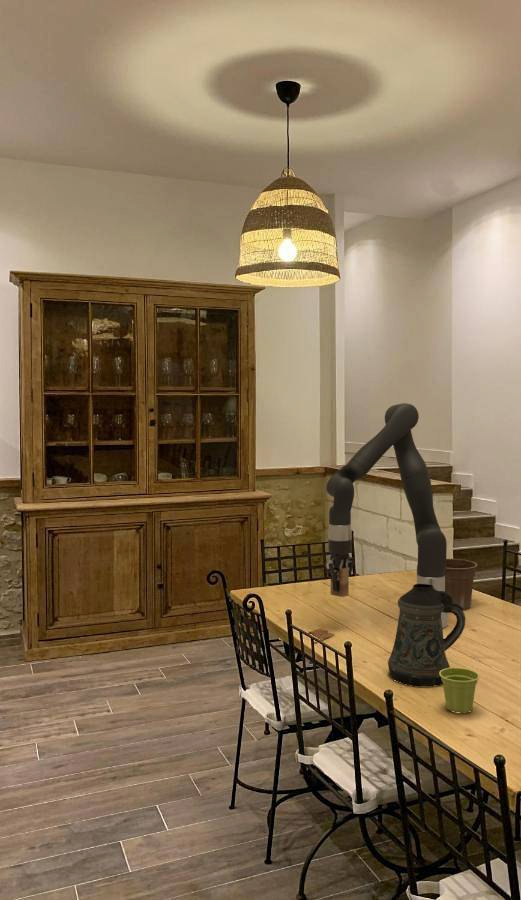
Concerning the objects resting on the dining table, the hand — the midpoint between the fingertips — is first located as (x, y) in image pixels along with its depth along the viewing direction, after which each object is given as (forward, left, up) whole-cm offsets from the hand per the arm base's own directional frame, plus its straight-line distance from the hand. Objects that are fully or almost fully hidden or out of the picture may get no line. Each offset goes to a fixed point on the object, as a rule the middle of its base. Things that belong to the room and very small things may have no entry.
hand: (339, 590), depth 240 cm
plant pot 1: (-13, -52, -14) cm, 55 cm away
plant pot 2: (-59, +31, -14) cm, 68 cm away
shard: (0, +9, -14) cm, 17 cm away
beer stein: (-41, +17, -14) cm, 47 cm away
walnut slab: (0, 0, -2) cm, 2 cm away
